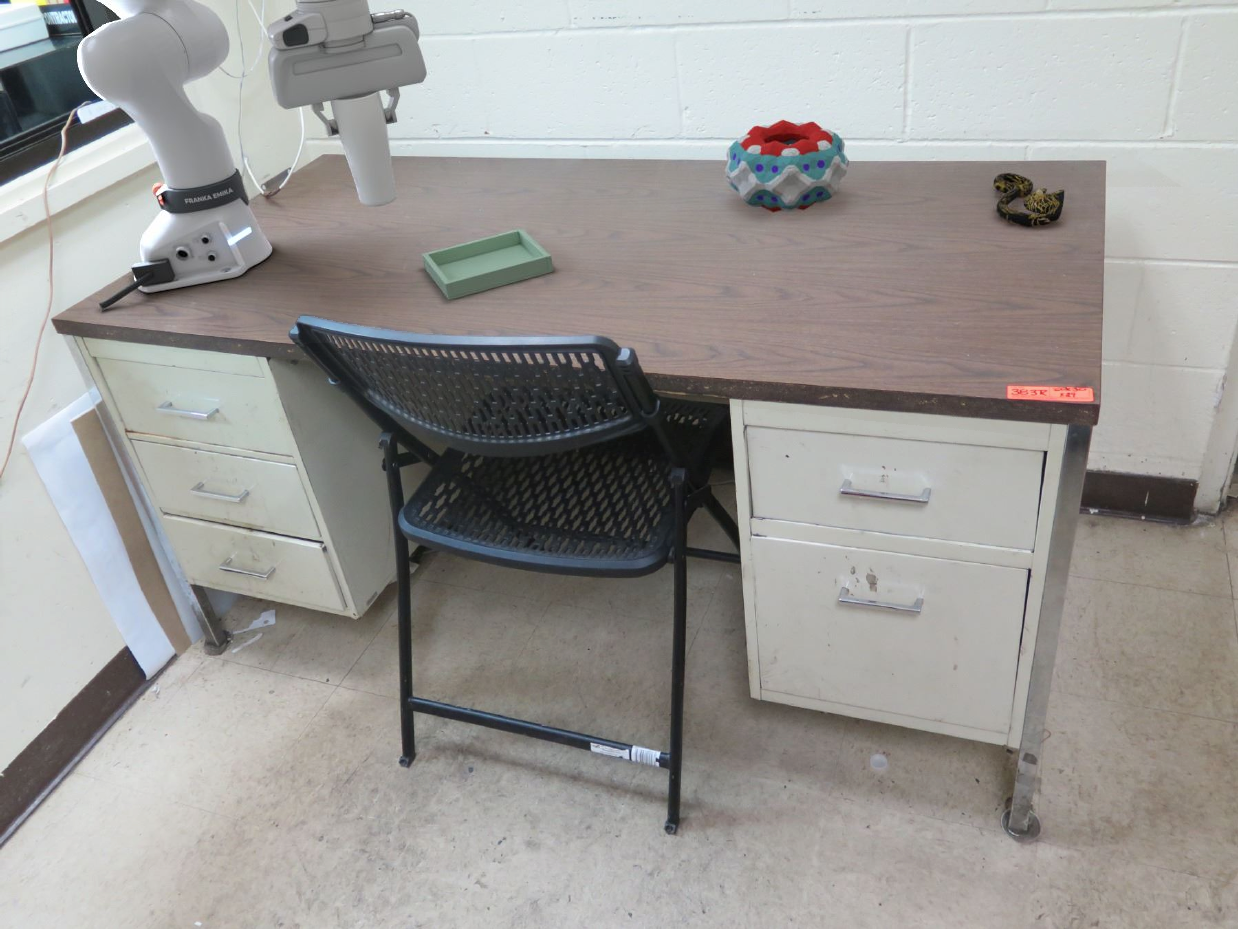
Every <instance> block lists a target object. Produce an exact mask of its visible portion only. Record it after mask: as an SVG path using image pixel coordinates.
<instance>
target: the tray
mask: <svg viewBox="0 0 1238 929" xmlns="http://www.w3.org/2000/svg"><path fill="white" fill-rule="evenodd" d="M421 255H422V259H423V264H424V269H425V271H426V272H427V273H428V275H429V276H430V277H431V278H432V280H433V281H434V283H435V284H436V286H438V288H439V289H440V291H441V292H442V293H443V294H444V296H445V297H446V299H447V300H448V301H451V300H454V299H458V298H462V297H465V296H470V295H473V294H476V293H480V292H484V291H487V290H492V289H494V288H498V287H503V286H506V285H509V284H514V283H516V282H521V281H524V280H527V279H531V278H535V277H539V276H542V275H546V274H549V273H550V274H551V273H553V272H554V266H553V261H552V260H553V259H552V255H551V254H550V253H548V251H546V249H545V248H543V247H542V246H541V245H540V244H539V243H538V242H537V241H536V240H535V239H534V238H533V237H531V236H530V235H529V234H528V233H527V232H526V231H525V230H524V229H523V228H518V229H514V230H511V231H507V232H503V233H499V234H495V235H491V236H488V237H483V238H479V239H476V240H471V241H468V242H463V243H460V244H456V245H453V246H449V247H445V248H441V249H437V250H433V251H429V252H425V253H422V254H421Z"/></svg>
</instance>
